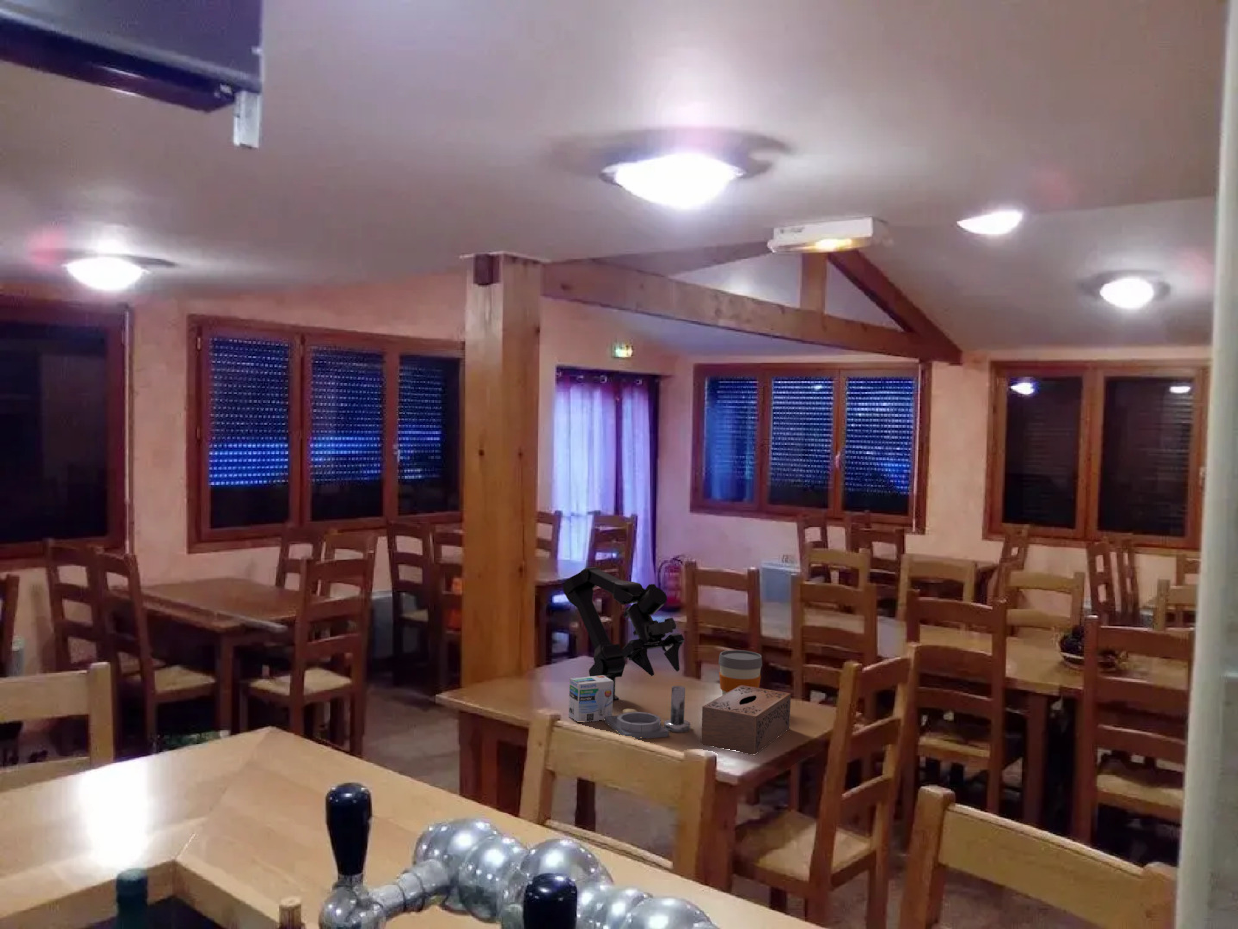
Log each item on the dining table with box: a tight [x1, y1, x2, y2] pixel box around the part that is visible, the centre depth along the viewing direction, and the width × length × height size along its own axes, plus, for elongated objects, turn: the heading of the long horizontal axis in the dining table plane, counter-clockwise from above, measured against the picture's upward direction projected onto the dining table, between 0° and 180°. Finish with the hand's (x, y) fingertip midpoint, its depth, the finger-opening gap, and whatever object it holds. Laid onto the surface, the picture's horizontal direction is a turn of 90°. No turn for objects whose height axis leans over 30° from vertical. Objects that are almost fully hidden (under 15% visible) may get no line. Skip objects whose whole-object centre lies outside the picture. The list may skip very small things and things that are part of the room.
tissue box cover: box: [700, 685, 792, 755], centre depth 264 cm, size 26×14×10 cm, turn 151°
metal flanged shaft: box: [663, 685, 691, 733], centre depth 269 cm, size 7×7×11 cm
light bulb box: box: [568, 675, 614, 723], centre depth 275 cm, size 11×7×11 cm, turn 117°
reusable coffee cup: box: [718, 649, 763, 696], centre depth 292 cm, size 13×12×15 cm
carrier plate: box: [603, 708, 670, 740], centre depth 267 cm, size 16×12×4 cm
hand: (665, 673), depth 275 cm, fingers open, 9 cm apart
